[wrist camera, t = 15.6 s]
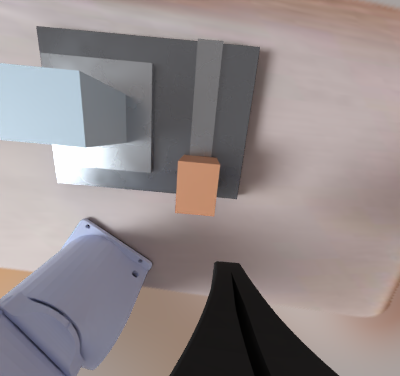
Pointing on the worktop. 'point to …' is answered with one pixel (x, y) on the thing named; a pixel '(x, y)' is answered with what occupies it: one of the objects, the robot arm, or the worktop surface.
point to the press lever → (197, 185)
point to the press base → (158, 106)
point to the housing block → (59, 108)
